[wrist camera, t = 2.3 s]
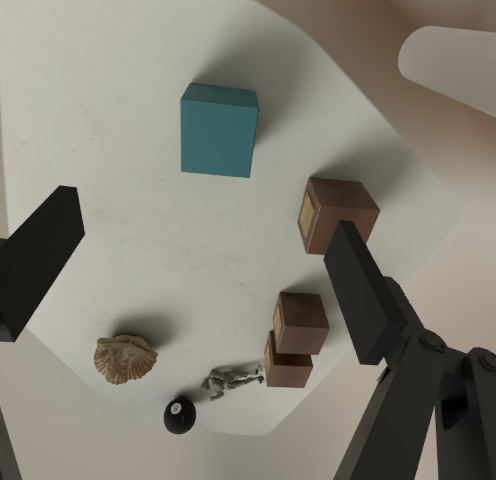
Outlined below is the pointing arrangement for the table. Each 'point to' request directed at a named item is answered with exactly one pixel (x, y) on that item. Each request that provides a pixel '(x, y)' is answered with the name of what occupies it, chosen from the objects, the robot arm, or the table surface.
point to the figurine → (227, 381)
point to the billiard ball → (179, 416)
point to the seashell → (123, 358)
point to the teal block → (218, 130)
